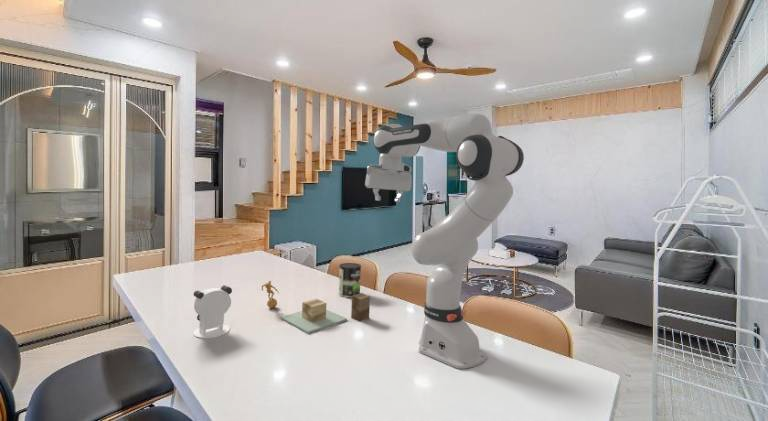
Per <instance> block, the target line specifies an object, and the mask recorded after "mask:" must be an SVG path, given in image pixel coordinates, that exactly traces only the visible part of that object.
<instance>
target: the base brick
mask: <svg viewBox="0 0 768 421" xmlns="http://www.w3.org/2000/svg"><path fill="white" fill-rule="evenodd" d="M301 307H302V309H301V311H302V318H304V319H306V320H308V321H310V322H315V321H318V320H322V319H325V318H326V310H327V302H325V301H323V300H320V299H318V298H313V299H311V300H306V301H303V302H302V304H301Z"/></svg>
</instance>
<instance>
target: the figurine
mask: <svg viewBox="0 0 768 421" xmlns="http://www.w3.org/2000/svg"><path fill="white" fill-rule="evenodd" d="M264 287H265V289H266V293H267V294H268V295H267V296H268V300H267V302H266V303H267V304H266V305H267V307H268V308H269V309H274V308H276V307H277V305H278V301H277V299H275V298H273V297H274V295H275V292H274V291H273V289H274V290H275V291H276V292H277V294H280V292H279V291H278V289H277V288H276V287H275V286H273V285H272V281H271V280H268V282H266V283H263V284H262V285H261V291H264ZM270 296H271V297H270Z"/></svg>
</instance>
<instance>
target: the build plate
mask: <svg viewBox="0 0 768 421" xmlns="http://www.w3.org/2000/svg"><path fill="white" fill-rule="evenodd" d="M280 319H281V320H282V322H283V321H284V322H286V323H287V324H289V325H290V326H293V327H294V328H296V329H298V330H300V331H302V332H304V333H306V334H307V335H308V334H312V333H314V332H317V331H321V330H324V329H327V328H329V327H332V326H336V325H339V324H341V323H343V322H347V321H348V318H346V316H345V317H344V316H342V315H339V314H338V313H336V312H333V311H331V310H329V309H326V318H325V319H322V320H318V321H315V322H310V321H308V320H306V319H304V318H302V310H301V311H297V312H293V313H291V314H287V315H283V316H280Z"/></svg>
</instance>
